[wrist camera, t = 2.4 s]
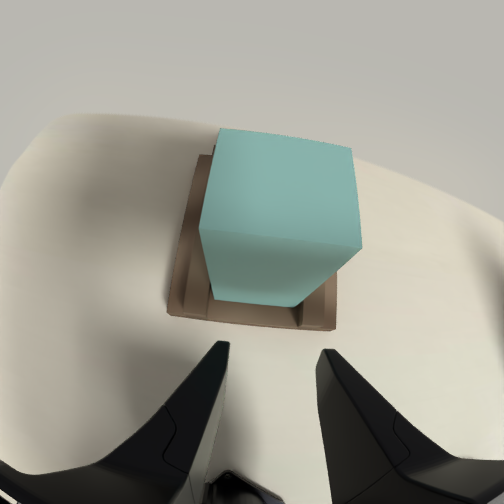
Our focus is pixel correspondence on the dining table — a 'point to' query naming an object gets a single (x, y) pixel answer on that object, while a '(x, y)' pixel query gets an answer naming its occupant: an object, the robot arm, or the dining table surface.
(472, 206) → the dining table surface
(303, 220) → the block
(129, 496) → the robot arm
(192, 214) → the chute
